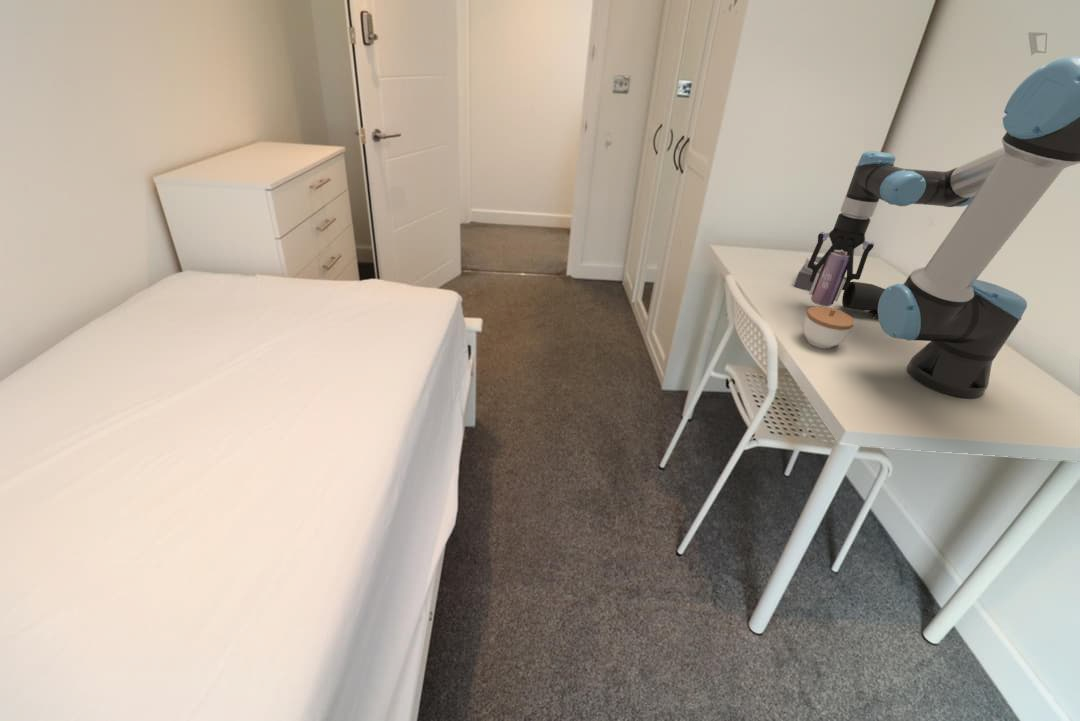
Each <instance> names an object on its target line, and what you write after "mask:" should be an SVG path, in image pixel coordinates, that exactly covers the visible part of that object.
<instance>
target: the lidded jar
mask: <svg viewBox="0 0 1080 721" xmlns="http://www.w3.org/2000/svg"><path fill="white" fill-rule="evenodd" d="M854 325H855V320H854V318H853V317H852V316H851V315H849V314H848V313H846V312H844V311H842V310H839V309H837V308H833V307H830V306H821V305H816V306H815V305H814V306H811V307H808V309H807V310H806V315H805V317H804V320H803V325H802V326H803V327H802V331H803V333H804V336H805V338H806V341H807V343H809V344H810V345H812V346H813V347H816V348H820V349H826V348H828V349H831V347H832V348H833V347H835V346H838V345H840V344H841V343H843V342H844V341H845V340H846V338H848V336H849V334H850V332H851V330H852V328H853V327H854Z"/></svg>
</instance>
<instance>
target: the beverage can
mask: <svg viewBox="0 0 1080 721" xmlns="http://www.w3.org/2000/svg"><path fill="white" fill-rule="evenodd" d="M849 261H850V256H847V252H846V251H843V250H837V249H835V250H834V251H833V252H831V251H830V253H829V254H828V256H827V259H826V261H825V263H824V264H823V267H822V269H821V272H820V275H819V278H818V280H817V283H816V286H815V288H814V291H813V293H812V295H810V296H811V297H810V300H811V302H812V303H813V304H815V305H816V306H822V307H831V306H832V305H833V304H834V303H835V301H834V300H835V298H836V295H837V293H838V290H839V288H840V285H841V283H842V280H843V278H844V277H846V274H847V266H848V263H849Z"/></svg>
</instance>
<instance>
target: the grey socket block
mask: <svg viewBox="0 0 1080 721" xmlns="http://www.w3.org/2000/svg"><path fill="white" fill-rule="evenodd" d="M811 256H812V255H808V256H807V257H806V259H805V263H804V264H803V265H802V267H801V269H800V270H799V272H798V274H797V277H796V280H795V282H794V285H793V287H794V288H797V289H800V290H801V289H802V290H805V291H808V292H810V290H811V287H812V285H813V282H810V278H811V275H812V272H813V270H812V269H810V268H808V267H807V266H808V263H809V261H810V259H811ZM823 256H824V255H817V258H816V260H815V262H814V264H815V265H817V264H818V262H819V261H820V260H821V259H822V257H823ZM822 267H823V265H822V266H821V268H820V269H819V271H821V269H822Z"/></svg>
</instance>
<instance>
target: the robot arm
mask: <svg viewBox="0 0 1080 721" xmlns="http://www.w3.org/2000/svg"><path fill="white" fill-rule="evenodd" d="M1003 113H1004V114H1006V115H1004V116H1003V117H1002V125H1003V128H1004V130H1005V133H1004V135H1003V137H1002V139H1001V143H1002V146H1003V147H1000V148H999V149H996V150H994V151H992V152H990V153H987V154H985V155H983V156H981V157H978V158H976V159H974V160H971V161H969V162H967V163H964V164H961V165H960V166H957V167H954V168H952V169H950V170H947V171H937V170H923V169H912V168H911V169H910V168H902V167H898V166H895V163H896V162H895V161H896V156H895V155H894V154H893V153H890V152H883V151H872V150H869V151H867V150H866V151H864V152H862V154H861V156H860V158H859V160H858V163H857V165H856V166H855V169H854V172H853V175H852V178H851V181H850V184H849V187H848V189H847V191H846V195H845V197H844V198H843V202H842V205H841V208H840V212H841V213H839V214H838V216H837V219H836V221H835V224H834V226H833V229H832V230H831V231H829V232H823V231H820V232H819V234H818V236H817V243H816V246H815V247H814V250H813V252H812V255H810V256H811V259H810V261H809V263H808V266H807V267H808V268H810V269H812V270H813V272H812V275H811V278H810V282H813V285H812V287H811V290H810V291H809V293H808V294H809V295H810V296H812V293H813V291H814V288H815V286H816V283H817V280H818V278H819V275H820V272H821V271H819V269H820V268H821V266H822V265H823V264H824V263H825V261H826V259H827V256H828V254H829V253H830V251H831V252H833V251H834V250H835V249H837V250H843V251H846V252H847V256H850V261H849V263H848V266H847V271H846V276H844V278H843V280H842V283H841V285H840V288H839V290H838V293H837V295H836V298H835V300H834V302H836V303H837V302H838V300H839V299H840V296H841V293H842V291H844V290H845V291H846V290H847V289H848V286H849V284H850V282H852V281H853V280H856V281H857V280H860V279H861V275H862V273H863V272H864V267H865V264H866V262H867V259H868V256H869V253H870V252H871V250H872V249H874V247H875V246H874V245H875V243H874V242H872V241H871V242H870V241H868V240H866V233H867V229H868V227H869V225H870V223H871V218H872V217H873V215H874V212H875V211H876V208H877V206H878V203H879V200H882V201H883V202H885V203H888V204H889V205H894V206H898V207H908V206H910V205H924V206H925V205H927V206H940V207H945V208H955V207H959V208H960V207H965V206H966V207H965V209H964V211H963V212H962V213H961V214H960V215H959V217H958V219H957V221H956V222H955V223H954V225H953V226H952V227H951V229H950V231H949V232H948V234H947V235H946V236H945V238H944V240H943V241H942V242H941V244H940V245H939V247H938V248H937V249H936V251H935V252H934V254H933V255H932V256H931V258H930V259H929V261H928V263H927V264H926V265H925V266H924V267H920V268H915V269H913V270H912V271H911V273H910V274H909V275H908V277H907V278H906V280H905V282H904V283H895V284H892V285H889V286H888V287H886V288H884V289H885V290H884V292H883V293H882V295H881V297H880V300H879V303H878V318H877V319H878V323H879V326H880V327H881V329H882V330H883V332H884V333H885V334H886V335H887V336H889V337H891V338H892V339H896V340H897V339H899V340H905V341H909V342H910V341H923V342H928V343H927V344H926V345H925V346H924V347H923V348H921V349H920V350H919V351H918V352H917V353H916V354H914V355H913V356H912V357H911V359H910V361H909V362H908V364H907V367H906V369H907V372H908V373H909V374H910V376H911V377H913V379H915V380H916V381H918V382H919V383H921V384H923V385H924V386H926V387H929V388H930V389H932V390H935V391H938V393H939V392H940V393H943V394H944V395H949V396H953V397H957V398H962V399H963V398H965V399H976V398H980V397H981V396H983V395H984V393H985V392H986V390H987V389H988V386H989V383H990V377H991V370H992V365H993V361H994V360H995V358H996V357H997V355H998V354H999V352H1000V351H1001V349H1002V347H1003V346H1004V345H1005V343H1006V342H1007V340H1008V339H1009V337H1011V334H1012V333H1013V331H1014V330H1015V329H1016V327H1017V325H1018V324H1019V322H1020V321H1021V320H1022V317H1023V315H1024V314H1025V311H1026V310H1027V307H1028V302H1027V300H1026V299H1025V298H1024V297H1023V296H1021V295H1019V294H1018V293H1017V292H1014V291H1012V290H1009V289H1007V288H1005V287H1003V286H1000V285H997V284H995V283H992V282H991V283H990V282H987V281H984V280H980V279H979V277H980V276H981V274H982V273H983V271H984V270H985V269H986V268H987V267H988V265H989V264H990V262H991V261H993V259H994V258H995V256H996V255H997V254H998V252H1000V250H1001V249H1002V247H1003V246H1004V245H1005V244H1006V242H1007V241H1008V240H1009V239H1010V237H1011V236H1012V235H1013V234H1014V232H1015V231H1016V230H1017V229H1018V228H1019V226H1020V224H1022V222H1023V221H1024V219H1025V218H1026V217H1027V216H1028V215H1029V213H1030V212H1031V211H1032V209H1033V208H1034V207H1035V206H1036V204H1037V203H1038V202H1039V201H1040V200H1041V198H1042V197H1043V196H1044V195H1045V193H1046V192H1047V190H1048V189H1049V188H1050V187H1051V185H1052V184H1053V183H1054V182H1055V180H1056V179H1057V178H1058V176H1060V174H1061V173H1062V172H1063V170H1064V169H1066V168H1069V167H1071V166H1074V165H1078V164H1080V56H1066V57H1061V58H1058V59H1055V60H1053V61H1051V62H1050V63H1048V64H1046V65H1043V66H1041V67H1039V68H1038V69H1036V70H1034V72H1032V73H1031V74H1029V75H1028V76H1027V77H1026V78H1025V79H1024V80H1023V81H1022V82H1021V83H1020V84H1019V86H1017V88H1016V89H1015V90H1014V92H1012V94H1011V96H1010V97H1009V99H1008V101H1007V103H1006V105H1005V108H1004V111H1003ZM828 238H829V239H830V242H831V245H830V247H829V249H828V250H827V251H826V252H825V254H824V255H822V256H823V257H822V259H821V260H820V261H819V262H818V264H817V265H815V264H814V262H815V260H816V258H817V256H819V254H820V251H821V248H822V246H823V244H824V242H826V241H827V240H828ZM861 245H862V250H863V252H862V255H861V258H860V261H859V264H858V267H857V269H856V273H854V253H855V249H856V248H858V247H859V246H861ZM902 284H903V285H902Z"/></svg>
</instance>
